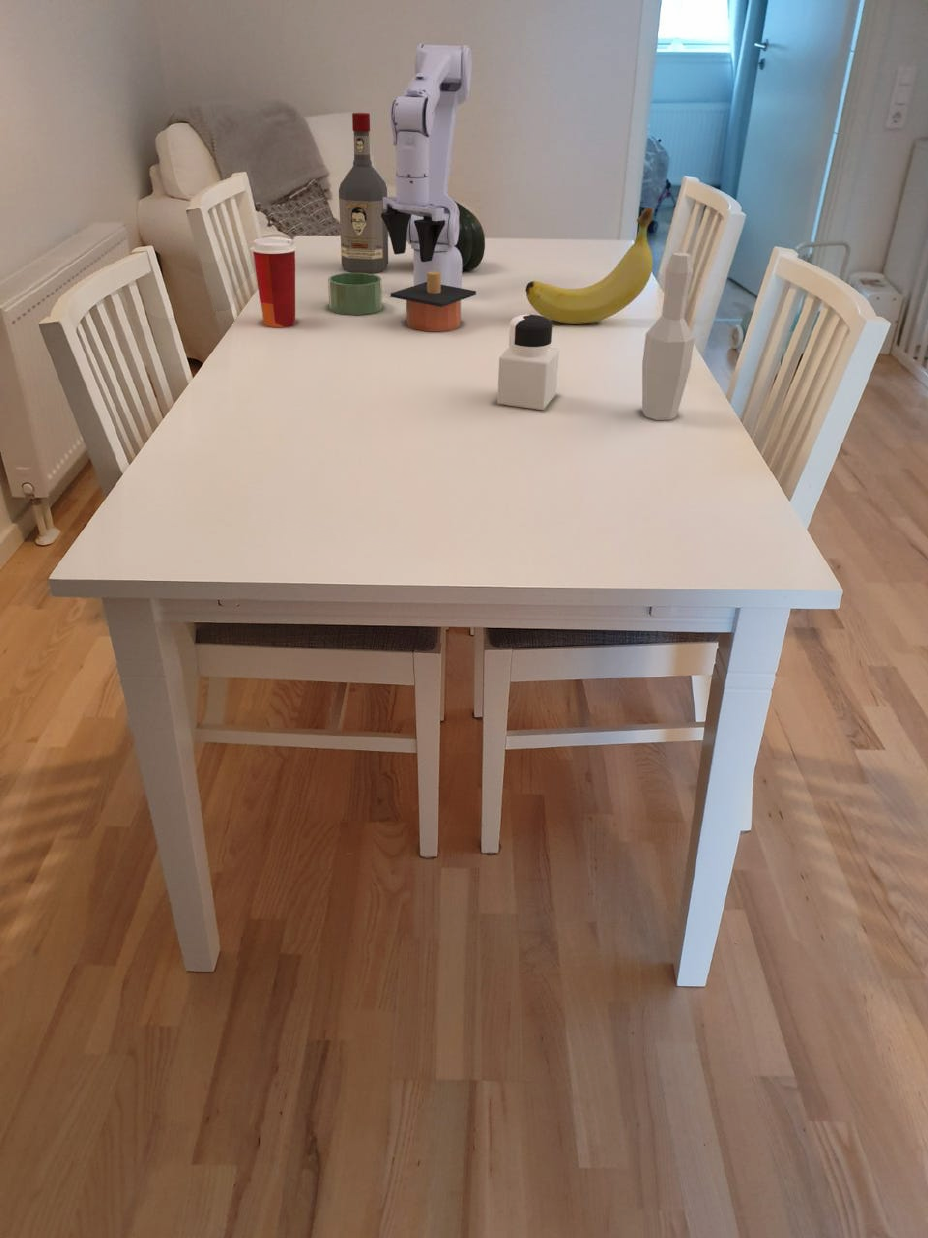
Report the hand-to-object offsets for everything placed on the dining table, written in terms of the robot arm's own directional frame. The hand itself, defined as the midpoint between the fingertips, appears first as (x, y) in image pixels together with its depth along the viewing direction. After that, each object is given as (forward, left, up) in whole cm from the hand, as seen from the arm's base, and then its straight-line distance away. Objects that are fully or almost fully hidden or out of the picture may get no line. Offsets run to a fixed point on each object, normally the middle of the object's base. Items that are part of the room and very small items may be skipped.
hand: (412, 257), depth 173 cm
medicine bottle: (+16, +46, -10) cm, 49 cm away
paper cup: (+23, -10, -10) cm, 27 cm away
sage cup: (+6, -10, -10) cm, 16 cm away
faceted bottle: (+5, +62, -10) cm, 63 cm away
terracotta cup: (+1, +7, -10) cm, 12 cm away
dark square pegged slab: (+1, +7, -5) cm, 9 cm away
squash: (-30, -24, -10) cm, 40 cm away
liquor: (-15, -35, -10) cm, 40 cm away
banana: (-22, +23, -10) cm, 34 cm away
